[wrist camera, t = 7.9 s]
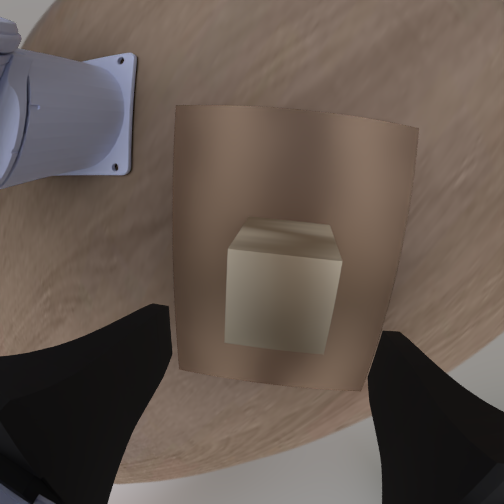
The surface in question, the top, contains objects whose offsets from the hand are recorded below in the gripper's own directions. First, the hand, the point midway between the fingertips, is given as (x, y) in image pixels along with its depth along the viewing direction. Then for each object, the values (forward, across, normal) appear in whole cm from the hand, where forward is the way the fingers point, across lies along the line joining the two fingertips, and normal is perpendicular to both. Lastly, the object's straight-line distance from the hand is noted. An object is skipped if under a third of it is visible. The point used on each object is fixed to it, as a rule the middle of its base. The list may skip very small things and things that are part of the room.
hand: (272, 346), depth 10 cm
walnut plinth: (+10, 0, 0) cm, 10 cm away
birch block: (+7, 0, 0) cm, 7 cm away
